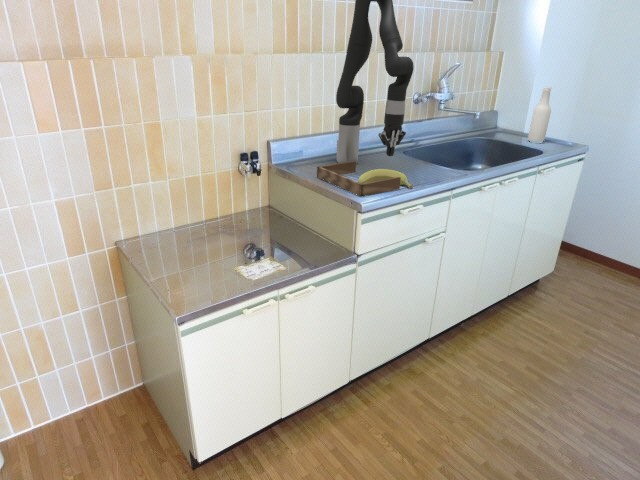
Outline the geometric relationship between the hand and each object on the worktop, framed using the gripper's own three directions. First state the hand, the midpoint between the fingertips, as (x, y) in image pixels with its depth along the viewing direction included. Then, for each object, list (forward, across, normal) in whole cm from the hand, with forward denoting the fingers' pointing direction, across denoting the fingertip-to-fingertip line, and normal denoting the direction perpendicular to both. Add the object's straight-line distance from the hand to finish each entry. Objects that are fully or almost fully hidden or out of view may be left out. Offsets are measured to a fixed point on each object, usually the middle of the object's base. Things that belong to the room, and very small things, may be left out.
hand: (389, 155), depth 184 cm
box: (+9, +17, +1) cm, 19 cm away
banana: (+9, +8, +9) cm, 15 cm away
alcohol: (+10, -123, -13) cm, 124 cm away
